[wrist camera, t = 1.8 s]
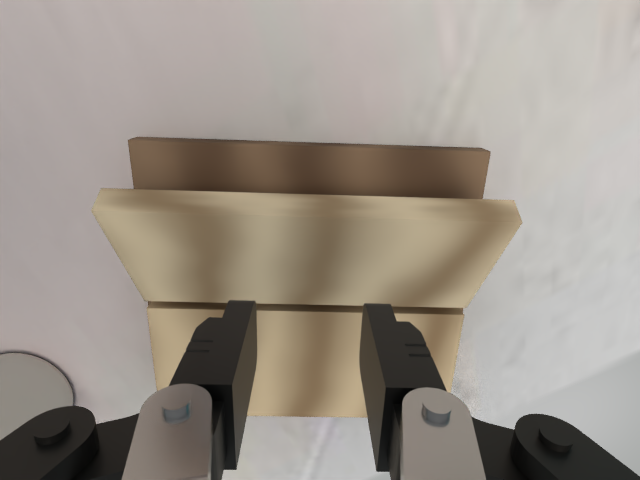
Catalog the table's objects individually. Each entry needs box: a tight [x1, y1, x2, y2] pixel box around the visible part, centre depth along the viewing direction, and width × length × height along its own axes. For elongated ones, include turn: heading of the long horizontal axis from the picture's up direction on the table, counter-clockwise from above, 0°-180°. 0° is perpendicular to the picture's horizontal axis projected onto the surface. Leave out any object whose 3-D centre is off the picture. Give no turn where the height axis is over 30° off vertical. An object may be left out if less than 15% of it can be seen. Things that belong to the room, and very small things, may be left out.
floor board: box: [128, 137, 490, 417], centre depth 29 cm, size 22×20×3 cm
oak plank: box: [91, 188, 522, 308], centre depth 24 cm, size 21×9×2 cm
